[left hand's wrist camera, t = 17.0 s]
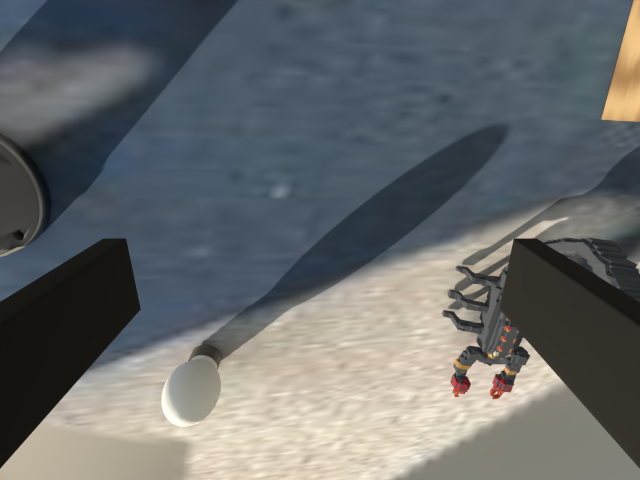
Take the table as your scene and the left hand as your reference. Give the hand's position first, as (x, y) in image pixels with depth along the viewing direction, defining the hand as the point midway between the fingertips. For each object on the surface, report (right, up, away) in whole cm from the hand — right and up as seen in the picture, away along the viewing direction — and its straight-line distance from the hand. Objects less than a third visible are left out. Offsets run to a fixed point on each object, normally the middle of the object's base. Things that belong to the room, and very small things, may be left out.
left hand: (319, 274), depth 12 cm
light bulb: (-16, -15, +39) cm, 45 cm away
